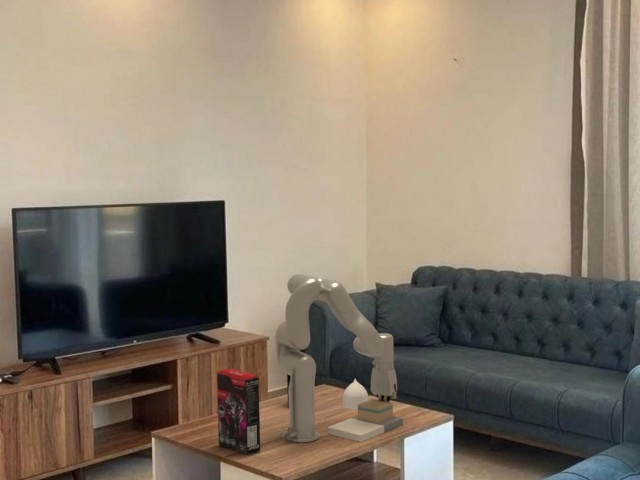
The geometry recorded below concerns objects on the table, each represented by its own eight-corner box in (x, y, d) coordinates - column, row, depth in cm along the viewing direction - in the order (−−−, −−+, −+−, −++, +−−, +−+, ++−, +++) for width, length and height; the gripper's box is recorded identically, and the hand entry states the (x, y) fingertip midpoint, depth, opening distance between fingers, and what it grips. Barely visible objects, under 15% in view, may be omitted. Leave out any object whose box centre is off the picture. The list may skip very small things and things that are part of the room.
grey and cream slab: (361, 442, 288) (360, 435, 288) (327, 433, 298) (327, 427, 298) (402, 424, 307) (402, 418, 307) (369, 417, 318) (369, 411, 318)
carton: (378, 424, 301) (378, 408, 300) (357, 419, 307) (357, 404, 307) (392, 418, 307) (392, 403, 307) (372, 413, 314) (371, 398, 314)
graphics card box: (217, 445, 288) (214, 371, 286) (232, 440, 293) (230, 367, 291) (247, 456, 276) (244, 378, 274) (262, 451, 281) (260, 375, 279)
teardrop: (339, 408, 331) (338, 380, 330) (346, 401, 341) (346, 374, 340) (365, 410, 327) (364, 382, 326) (371, 403, 338) (371, 375, 337)
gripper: (362, 364, 313) (363, 410, 314) (393, 369, 303) (394, 417, 304) (374, 361, 318) (375, 406, 320) (405, 366, 308) (405, 412, 310)
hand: (384, 411), depth 312 cm, fingers closed
